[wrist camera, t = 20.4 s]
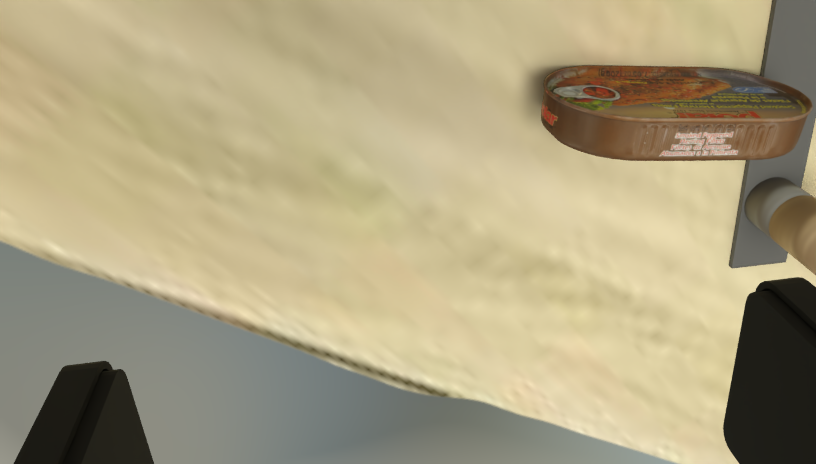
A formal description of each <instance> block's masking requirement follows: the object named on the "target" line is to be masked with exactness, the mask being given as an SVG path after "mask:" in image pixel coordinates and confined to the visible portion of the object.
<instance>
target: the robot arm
mask: <svg viewBox="0 0 816 464" xmlns="http://www.w3.org/2000/svg"><path fill="white" fill-rule="evenodd" d="M723 430H724V437H725V441H726V443H727V446H728V448H729V449H730V451H731V452H732V454H733V455H734V457H735V458H736V459H737V461H738V462H739V464H816V287H815V286H813V285H812V284H811V283H810V282H809V281H807V280H805V279H804V278H798V277H797V278H788V279H780V280H772V281H764V282H762V283H760V284H759V285H758V287H757V289H756V292H753V293H750V294H749V296H748V297H747V300H746V304H745V310H744V315H743V321H742V326H741V332H740V337H739V343H738V348H737V353H736V359H735V364H734V370H733V375H732V381H731V386H730V392H729V397H728V403H727V408H726V414H725V419H724V426H723ZM14 464H154V462H153V459H152V456H151V453H150V449H149V446H148V443H147V440H146V437H145V434H144V430H143V427H142V424H141V421H140V417H139V414H138V411H137V408H136V405H135V401H134V398H133V395H132V392H131V389H130V385H129V382H128V379H127V376H126V374H125V372H124V371H123V370H121V369H118V370H113V369H112V367H111V365H110V364H109V362H106V361H100V362H92V363H84V364H76V365H67V366H65V367H63V368H62V370H61V371H60V372H59V374H58V376H57V378H56V380H55V382H54V385H53V386H52V389H51V390H50V392H49V394H48V396H47V398H46V400H45V402H44V405H43V406H42V408H41V410H40V412H39V415H38V416H37V418H36V420H35V422H34V424H33V426H32V428H31V430H30V432H29V434H28V436H27V438H26V441H25V442H24V444H23V446H22V448H21V450H20V452H19V454H18V456H17V458H16V460H15V462H14Z"/></svg>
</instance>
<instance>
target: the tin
mask: <svg viewBox="0 0 816 464" xmlns="http://www.w3.org/2000/svg"><path fill="white" fill-rule="evenodd" d="M544 89H545V90H544V97H543V103H542V110H541V120H542V123H543V125H544V127H545V128H546V129H547V130H548V131H549V132H550V133H551V134H552V135H553V136H554V137H555V138H556V139H557V140H558V141H560V142H561V143H563V144H564V145H566V146H569V147H571V148H573V149H576V150H578V151H581V152H584V153H587V154H591V155H595V156H600V157H605V158H611V159H620V160H631V161H695V160H701V161H706V160H763V159H772V158H776V157H780V156H783V155H785V154H787V153H789V152H790V151H792V150H793V149H794V148H795V146H796V144H797V142H798V140H799V138H800V135H801V133H802V130H803V127H804V125H805V122H806V119H807V116H808V114H809V113H810V112H811V111H812V108H813V105H812V102H811V100H810V99H809V98H808V97H807V96H806V95H804V94H803V93H802V92H800V91H799V90H796V89H795V88H793V87H790V86H788V85H786V84H783V83H780V82H778V81H775V80H771V79H768V78H765V77H761V76H758V75H754V74H750V73H746V72H741V71H736V70H729V69H721V68H709V67H647V66H577V67H569V68H564V69H560V70H557V71H555V72H553V73H551V74H549V75H548V76H547V77H546V78H545V80H544Z"/></svg>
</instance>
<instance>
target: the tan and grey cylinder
mask: <svg viewBox="0 0 816 464" xmlns="http://www.w3.org/2000/svg"><path fill="white" fill-rule="evenodd" d="M744 211H745V215H746V217H747V219H748V220H749V221H750V222H752V223H753V224H754V225H755V226H757V227H758V228H759V229H760V230H761V231H763V232H764V233H765V234H766V235H767V236H769V237H770V238H771V239H772V240H774V241H775V242H776V243H777V244H778V245H780V246H781V247H782V248H783V249H785V250H786V251H787V252H788V253H789V254H791V255H792V256H793V257H794V258H795V259H797V260H798V261H799V262H800V263H802V264H803V265H804V266H805V267H806V268H808V269H809V270H810V271H811V272H813V273H814V274H815V275H816V198H815V197H813V196H812V195H810V194H809V193H807V192H806V191H804V190H803V189H801V188H800V187H798V186H797V185H795V184H794V183H792V182H791V181H789V180H787V179H785V178H782V177H773V178H769V179H766V180H764V181H762V182H760V183H759V184H757V185H756V186H755V187H754V188H753V189H752V190H751V191H750V193H749V194H748V196H747V198H746V201H745V205H744Z"/></svg>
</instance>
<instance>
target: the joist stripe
mask: <svg viewBox="0 0 816 464" xmlns="http://www.w3.org/2000/svg"><path fill="white" fill-rule="evenodd" d="M760 76H761V77H765V78H768V79H771V80H775V81H778V82H780V83H783V84H786V85H788V86H790V87H793V88H795V89H796V90H799V91H800V92H802V93H803V94H804V95H806V96H807V97H808V98H809V99H810V100H811V102H812V105H813V108H812V111H811V112H810V113H809V114H808V116H807V119H806V122H805V125H804V127H803V130H802V133H801V135H800V138H799V140H798V142H797V144H796V146H795V148H794V149H793V150H792V151H790V152H789V153H787V154H785V155H783V156H780V157H776V158H772V159H763V160H746V166H745V172H744V178H743V184H742V190H741V196H740V202H739V208H738V214H737V220H736V226H735V232H734V238H733V244H732V250H731V257H730V263H729V266H730V267H731V268H740V267H748V266H757V265H765V264H774V263H782V262H786V259H787V254H788V252H787V251H786V250H785V249H783V248H782V247H781V246H780V245H778V244H777V243H776V242H775V241H774V240H772V239H771V238H770V237H769V236H767V235H766V234H765V233H764V232H763V231H761V230H760V229H759V228H758V227H757V226H755V225H754V224H753V223H752V222H750V221H749V220H748V219H747V217H746V215H745V211H744V205H745V201H746V198H747V196H748V194H749V193H750V191H751V190H752V189H753V188H754V187H755V186H756V185H757V184H759V183H760V182H762V181H764V180H766V179H769V178H773V177H782V178H785V179H787V180H789V181H791V182H792V183H794V184H795V185H797V186H798V187H800V188H801V186H802V181H803V176H804V171H805V167H806V162H807V157H808V152H809V147H810V142H811V138H812V133H813V128H814V123H815V118H816V0H773V2H772V8H771V14H770V20H769V26H768V32H767V38H766V44H765V50H764V56H763V62H762V68H761V75H760Z"/></svg>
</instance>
